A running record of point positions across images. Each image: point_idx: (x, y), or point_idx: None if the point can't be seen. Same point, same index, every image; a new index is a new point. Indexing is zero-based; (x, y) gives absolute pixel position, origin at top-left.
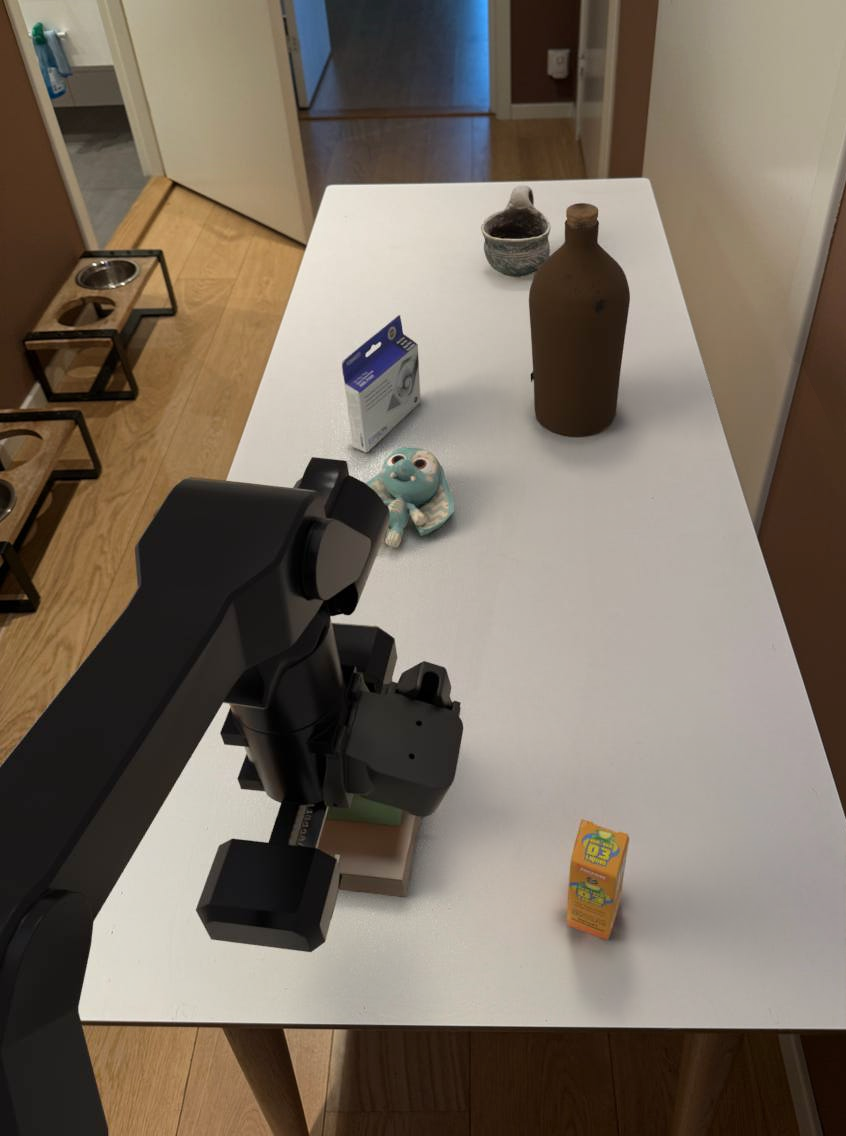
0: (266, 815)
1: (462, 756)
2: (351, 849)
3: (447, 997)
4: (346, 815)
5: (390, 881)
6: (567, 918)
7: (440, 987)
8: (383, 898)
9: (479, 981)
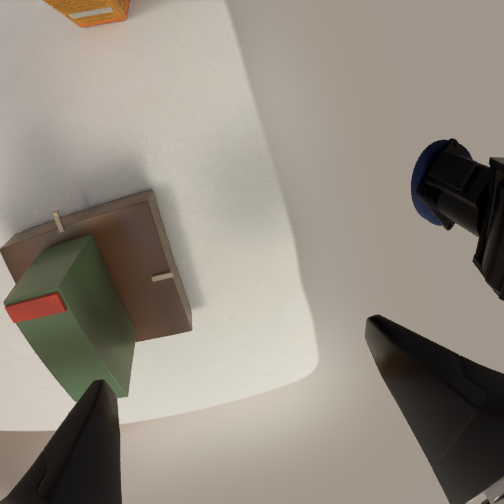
0: None
1: (3, 207)
2: (139, 269)
3: (236, 105)
4: (112, 293)
5: (152, 213)
6: (122, 15)
7: (229, 116)
8: (162, 210)
9: (211, 80)
